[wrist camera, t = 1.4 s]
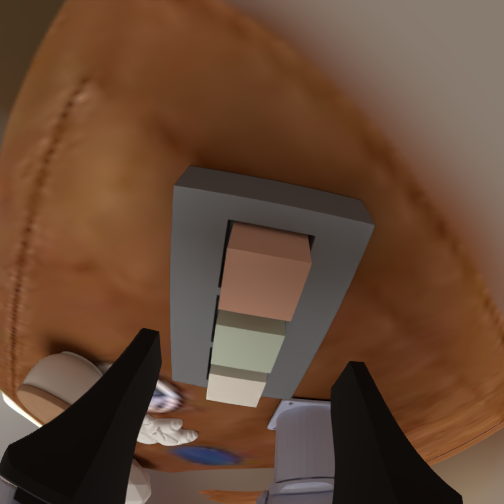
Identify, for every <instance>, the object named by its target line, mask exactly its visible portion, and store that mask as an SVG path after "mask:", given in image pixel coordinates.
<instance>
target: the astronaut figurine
mask: <svg viewBox="0 0 504 504" xmlns="http://www.w3.org/2000/svg"><path fill="white" fill-rule="evenodd" d="M182 425H183V421H182V420H181V419H172V418H159V419H155V418H153V417H152V416H150V415H149V414H146V415H145V418H144V421H143V423H142V426H141V429H140V432H139V435H138V438H137V441H139V442H142V443H146V444H154V443H156V442H159V443H161V444H163V445H167V446H171V445H177V444H178V445H180V444H182V443H183V444H184V443H188V442H190V441H194V440H195V439H196V438H197V437H198V433H197V432H196V431H193V430H185V429H182V428H181V427H182Z"/></svg>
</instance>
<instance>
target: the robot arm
mask: <svg viewBox="0 0 504 504" xmlns="http://www.w3.org/2000/svg"><path fill="white" fill-rule="evenodd" d="M161 364H162V360H161V349H160V337H159V331H155V330H151V329H146V328H142V329H141V330H140V331H139V333H138V334H137V335H136V337H135V338H134V339H133V341H132V342H131V343H130V344H129V346H128V347H127V348H126V349H125V351H124V352H123V353H122V354H121V356H120V357H119V358H118V359H117V360H116V361H115V362H114V364H113V365H112V366H111V367H110V368H109V369H108V370H107V371H106V373H105V374H104V375H103V376H102V377H101V378H100V379H99V380H98V381H97V382H96V383H95V384H94V385H93V386H92V387H91V388H90V389H89V390H88V391H87V392H86V393H85V394H84V395H82V396H81V397H80V398H79V399H78V400H77V401H76V402H74V403H73V404H72V405H71V406H70V407H68V408H67V409H66V410H65V411H63V412H62V413H61V414H59V415H58V416H57V417H55V418H54V419H53V420H51V421H50V422H48V423H47V424H45V425H44V426H42V427H40V428H39V429H37V430H36V431H34V432H33V433H31V434H29V435H27V436H25V437H24V438H22V439H20V440H18V441H16V442H14V443H12V444H10V445H9V446H8V448H7V449H6V451H5V453H4V455H3V457H2V460H1V463H0V476H2V477H3V478H5V479H6V480H8V481H9V482H11V483H12V484H14V485H16V486H17V487H16V486H14V485H12V484H10V483H8V482H6V481H4V480H2V479H1V478H0V504H125V502H126V494H127V488H128V481H129V476H130V470H131V465H132V460H133V455H134V451H135V446H136V442H137V438H138V435H139V432H140V429H141V426H142V423H143V421H144V418H145V415H146V412H147V410H148V407H149V404H150V401H151V399H152V396H153V393H154V390H155V388H156V384H157V380H158V376H159V372H160V368H161ZM267 428H268V429H270V430H276V445H275V467H274V484H270V485H269V490H265V491H263V492H262V494H261V495H259V497H258V498H257V501H256V504H463V500H462V496H461V495H460V494H459V493H458V492H456V491H455V490H454V489H453V488H451V487H450V486H449V485H448V484H447V483H445V482H444V481H443V480H442V479H441V478H440V477H439V476H438V475H437V474H436V473H435V472H434V471H433V470H432V469H431V468H430V466H429V465H428V464H427V463H426V462H425V461H424V460H423V459H422V457H421V456H420V455H419V454H418V453H417V451H416V450H415V449H414V447H413V446H412V445H411V443H410V442H409V441H408V439H407V438H406V436H405V435H404V433H403V432H402V430H401V429H400V427H399V425H398V424H397V422H396V421H395V419H394V417H393V416H392V414H391V412H390V410H389V409H388V407H387V405H386V403H385V401H384V400H383V398H382V396H381V394H380V392H379V390H378V388H377V386H376V385H375V383H374V381H373V379H372V377H371V375H370V373H369V371H368V369H367V367H366V365H365V364H364V362H355V361H349V363H348V364H347V366H346V367H345V369H344V370H343V372H342V373H341V375H340V376H339V378H338V379H337V381H336V382H335V383H334V385H333V386H332V388H331V401H317V400H304V399H293V398H291V399H290V400H289V399H282V400H281V402H280V404H279V406H278V407H277V409H276V411H275V413H274V415H273V416H272V418H271V420H270V422H269V423H268V425H267Z"/></svg>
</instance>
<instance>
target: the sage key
mask: <svg viewBox="0 0 504 504" xmlns="http://www.w3.org/2000/svg"><path fill="white" fill-rule="evenodd" d="M284 338H285V320H278V319H272V318H266V317H260V316H254V315H248V314H243V313H237V312H232V311H226V310H221V309H219V313H218V318H217V322H216V328H215V335H214V343H213V350H212V358H211V364H216V365H221V366H227V367H232V368H238V369H244V370H251V371H257V372H264V373H271V370H272V368H273V365H274V363H275V360H276V358H277V355H278V353H279V350H280V348H281V345H282V343H283V340H284Z"/></svg>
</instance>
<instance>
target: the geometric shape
mask: <svg viewBox="0 0 504 504" xmlns="http://www.w3.org/2000/svg"><path fill="white" fill-rule="evenodd" d="M150 495H151V488H150V481H149V475H148V473H147V472H146V471H145V470H144V469H143V468H142V467H141V465H140V464H139V463H138V462H137V461H136V460H135V459H134V458H133V460H132V465H131V470H130V476H129V481H128V488H127V494H126V502H125V504H144V503H145V502H146V501H147V499H148V498H149V496H150Z"/></svg>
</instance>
